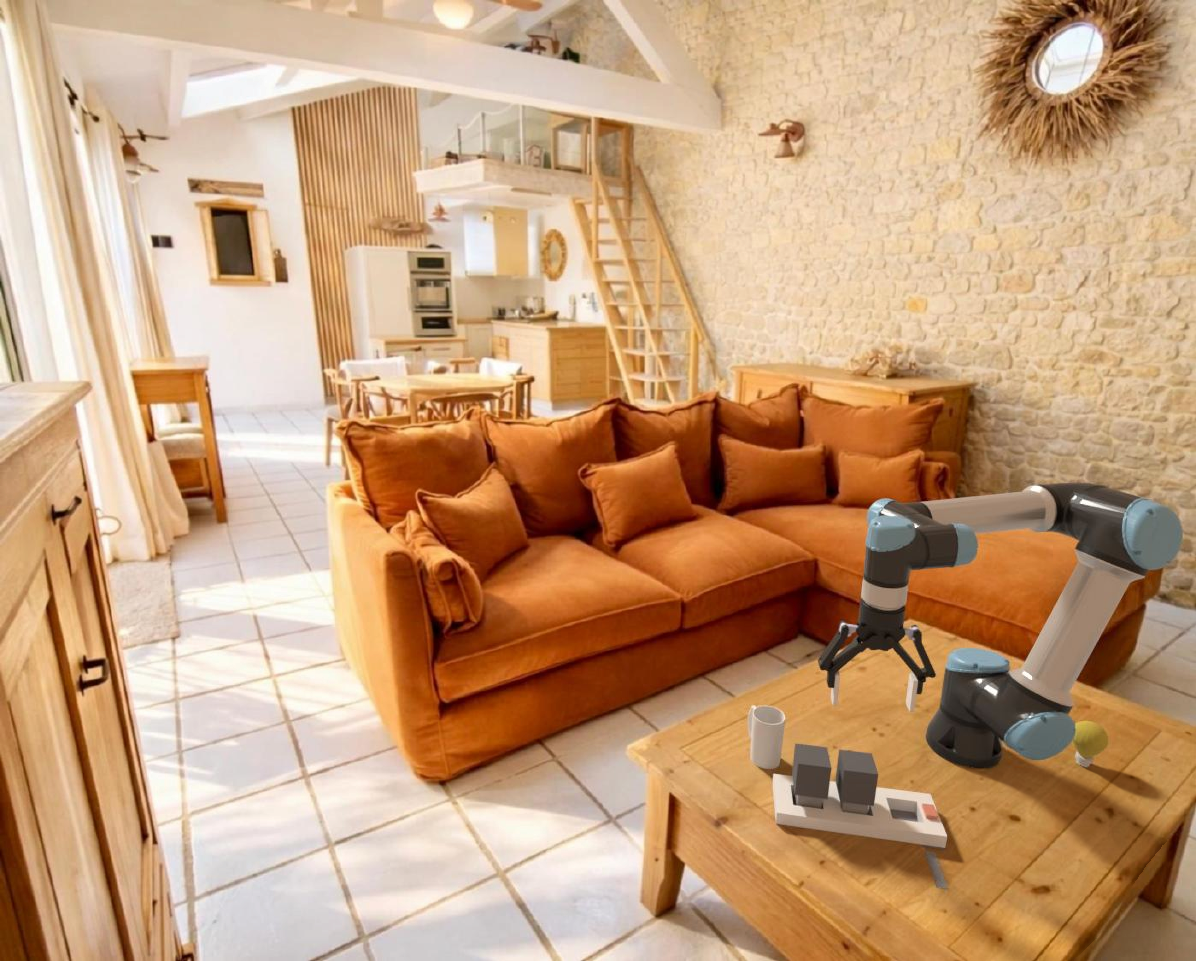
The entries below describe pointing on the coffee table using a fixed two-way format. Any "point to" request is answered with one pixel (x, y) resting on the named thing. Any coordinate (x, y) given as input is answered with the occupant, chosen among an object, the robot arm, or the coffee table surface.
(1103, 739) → the light bulb
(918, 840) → the strip
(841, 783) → the plug
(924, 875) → the coffee table surface
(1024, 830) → the coffee table surface
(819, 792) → the twin plug
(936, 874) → the pad
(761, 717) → the mug
